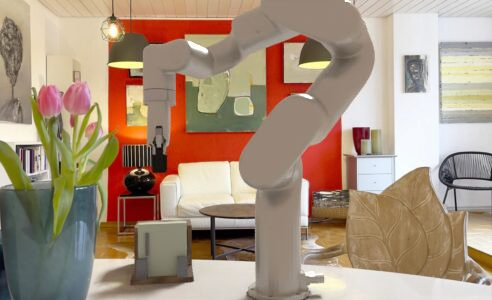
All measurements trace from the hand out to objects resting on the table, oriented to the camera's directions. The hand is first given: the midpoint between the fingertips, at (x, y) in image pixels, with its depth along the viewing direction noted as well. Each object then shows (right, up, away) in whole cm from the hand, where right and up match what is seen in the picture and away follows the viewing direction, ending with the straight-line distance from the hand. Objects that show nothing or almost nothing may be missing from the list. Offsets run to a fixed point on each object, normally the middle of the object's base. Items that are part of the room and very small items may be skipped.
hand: (160, 171), depth 97 cm
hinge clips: (+1, -25, -1) cm, 25 cm away
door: (+1, -24, -1) cm, 24 cm away
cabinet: (0, -25, +6) cm, 25 cm away
